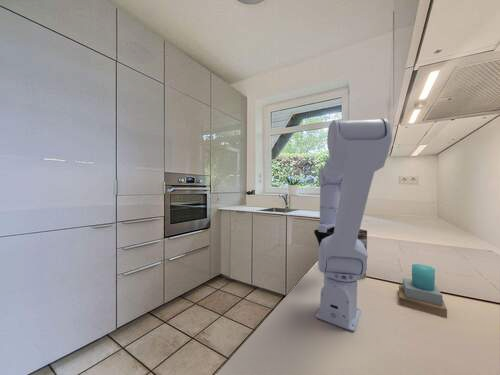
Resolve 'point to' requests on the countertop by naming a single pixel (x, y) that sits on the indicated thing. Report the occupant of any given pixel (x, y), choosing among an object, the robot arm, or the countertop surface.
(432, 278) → the cylinder
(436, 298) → the tower top
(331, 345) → the countertop surface
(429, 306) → the tower base
